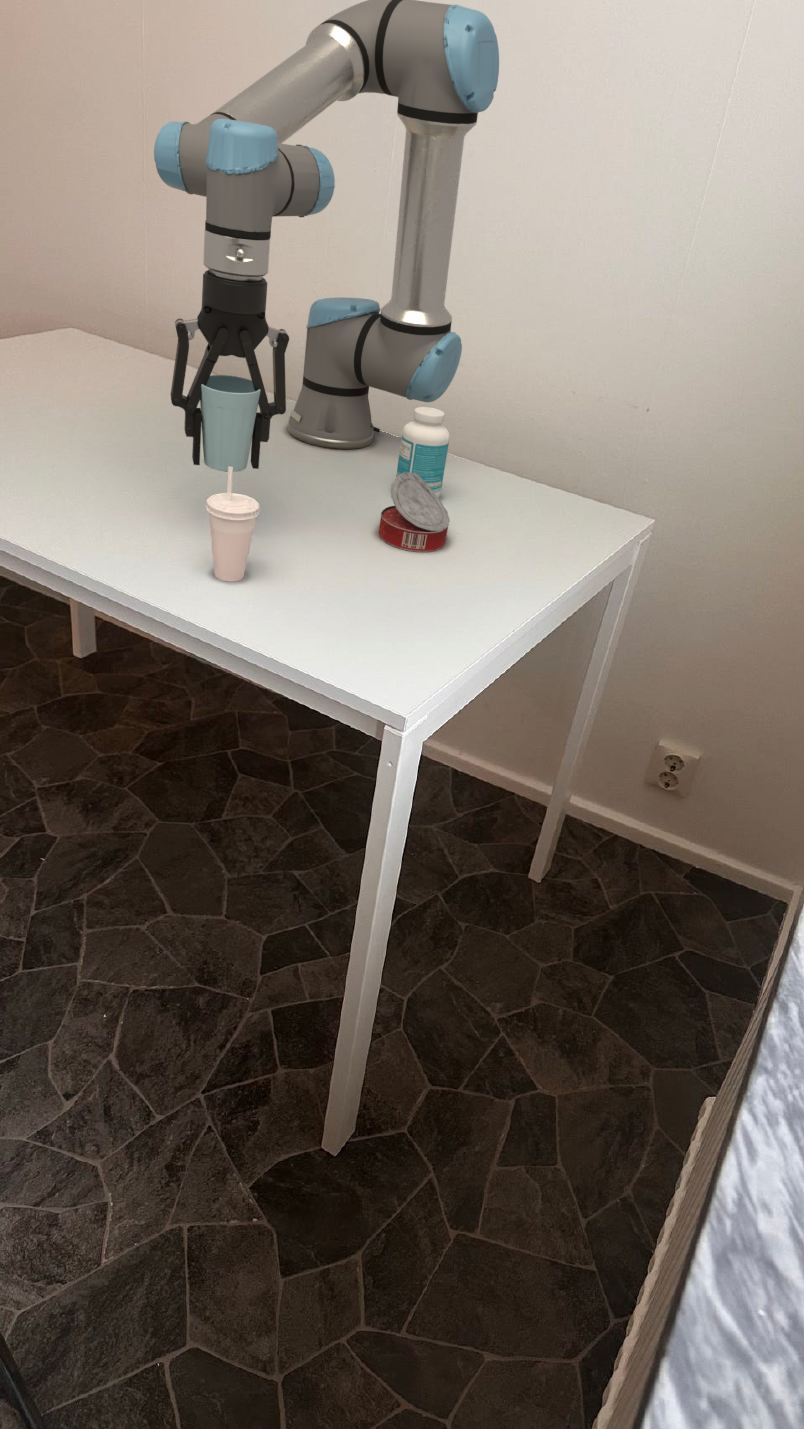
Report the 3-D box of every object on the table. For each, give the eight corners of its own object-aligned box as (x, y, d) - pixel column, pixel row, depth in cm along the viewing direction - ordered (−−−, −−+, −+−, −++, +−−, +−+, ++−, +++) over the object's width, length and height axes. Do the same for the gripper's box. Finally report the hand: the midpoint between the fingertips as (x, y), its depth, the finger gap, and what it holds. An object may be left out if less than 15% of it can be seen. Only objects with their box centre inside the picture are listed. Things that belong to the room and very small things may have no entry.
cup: (263, 475, 127) (269, 394, 122) (204, 475, 124) (207, 392, 118) (246, 454, 133) (251, 376, 127) (189, 454, 130) (192, 373, 124)
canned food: (418, 554, 150) (456, 499, 147) (435, 577, 141) (475, 519, 139) (357, 517, 145) (395, 459, 142) (371, 538, 136) (411, 476, 134)
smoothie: (205, 561, 127) (210, 455, 119) (255, 566, 128) (263, 461, 120) (201, 583, 121) (205, 474, 114) (253, 588, 122) (261, 480, 115)
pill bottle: (446, 495, 160) (461, 412, 153) (428, 508, 154) (443, 422, 147) (405, 483, 162) (417, 400, 155) (385, 494, 156) (398, 409, 149)
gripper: (149, 269, 110) (147, 468, 123) (323, 289, 116) (305, 478, 128) (148, 257, 116) (146, 448, 129) (313, 277, 122) (296, 458, 134)
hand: (225, 463), depth 128 cm, fingers closed on cup, 7 cm apart
